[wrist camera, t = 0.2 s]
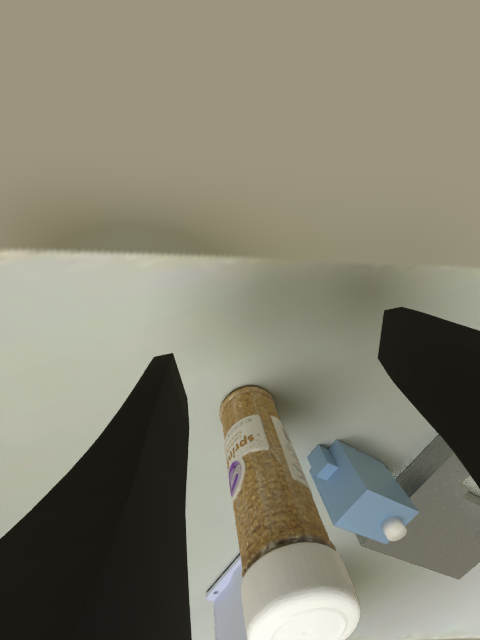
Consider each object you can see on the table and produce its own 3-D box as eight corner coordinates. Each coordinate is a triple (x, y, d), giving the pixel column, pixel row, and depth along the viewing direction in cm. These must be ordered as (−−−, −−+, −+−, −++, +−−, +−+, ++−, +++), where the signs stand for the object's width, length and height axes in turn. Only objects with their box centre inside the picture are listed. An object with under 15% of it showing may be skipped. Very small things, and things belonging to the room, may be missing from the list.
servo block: (355, 490, 29) (392, 554, 23) (299, 466, 26) (326, 532, 21) (382, 461, 28) (427, 522, 22) (326, 434, 26) (361, 494, 20)
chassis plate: (445, 560, 35) (459, 579, 33) (351, 525, 30) (361, 545, 29) (562, 454, 31) (585, 469, 30) (476, 395, 27) (497, 409, 25)
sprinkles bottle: (220, 384, 22) (254, 606, 10) (278, 384, 23) (377, 589, 11) (217, 433, 24) (242, 678, 11) (271, 431, 25) (351, 658, 12)
